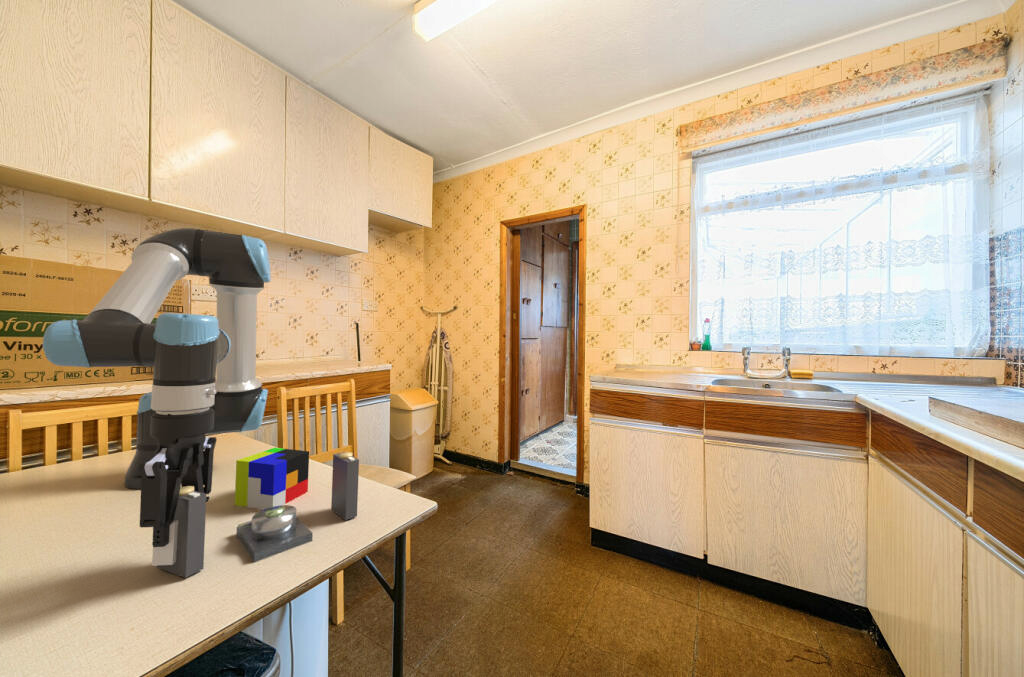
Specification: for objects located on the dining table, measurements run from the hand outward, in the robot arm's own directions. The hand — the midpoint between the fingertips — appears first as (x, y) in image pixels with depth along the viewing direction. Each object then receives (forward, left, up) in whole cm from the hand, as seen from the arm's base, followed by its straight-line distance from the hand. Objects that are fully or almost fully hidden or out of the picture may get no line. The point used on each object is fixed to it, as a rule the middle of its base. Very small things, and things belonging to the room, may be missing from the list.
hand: (176, 553), depth 57 cm
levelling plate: (+1, +13, -2) cm, 14 cm away
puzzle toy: (-18, +18, -3) cm, 26 cm away
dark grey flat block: (+1, 0, -2) cm, 3 cm away
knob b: (+1, +26, -2) cm, 26 cm away
